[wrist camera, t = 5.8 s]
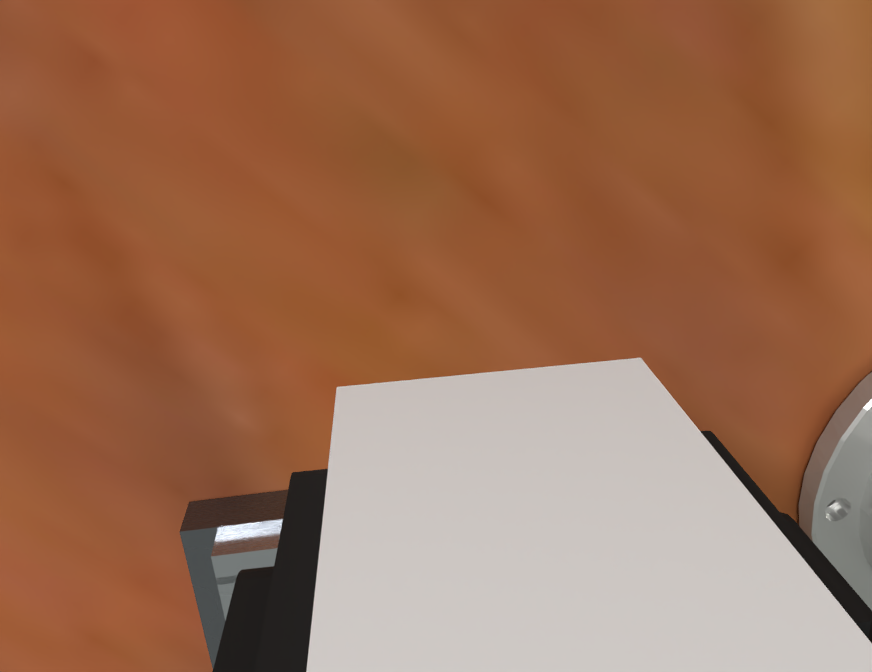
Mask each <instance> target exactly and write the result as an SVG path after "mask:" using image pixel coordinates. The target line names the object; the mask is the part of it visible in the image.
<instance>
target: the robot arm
mask: <svg viewBox="0 0 872 672" xmlns="http://www.w3.org/2000/svg"><path fill="white" fill-rule="evenodd" d="M700 432H701V433H702V434H703V436H704V437H705V438H706V439H707V440H708V442H709V443H710V444H711V445H712V447H713V448H714V449H715V450H716V452H717V453H718V454H719V455H720V457H721V458H722V459H723V460H724V461H725V463H726V464H727V465H728V466H729V468H730V469H731V470H732V471H733V473H734V474H735V475H736V476H737V478H738V479H739V480H740V481H741V482H742V484H743V485H744V486H745V487H746V489H747V490H748V491H749V492H750V494H751V495H752V496H753V497H754V499H755V500H756V501H757V502H758V503H759V505H760V506H761V507H762V508H763V510H764V511H765V512H766V513H767V515H768V516H769V517H770V518H771V520H772V521H773V522H774V523H775V524H776V526H777V527H778V528H779V529H780V531H781V532H782V533H783V534H784V536H785V537H786V538H787V539H788V541H789V542H790V543H791V544H792V545H793V547H794V548H795V549H796V550H797V552H798V553H799V554H800V555H801V557H802V558H803V559H804V560H805V562H806V563H807V564H808V565H809V566H810V568H811V569H812V570H813V571H814V573H815V574H816V575H817V576H818V578H819V579H820V580H821V581H822V583H823V584H824V585H825V586H826V587H827V589H828V590H829V591H830V592H831V594H832V595H833V596H834V597H835V599H836V600H837V601H838V602H839V604H840V605H841V606H842V607H843V608H844V610H845V611H846V612H847V613H848V615H849V616H850V617H851V618H852V620H853V621H854V622H855V623H856V624H857V626H858V627H859V628H860V629H861V631H862V632H863V633H864V634H865V636H866V637H867V638H868V639H869V641H870V642H871V643H872V372H871V373H870V374H868V375H867V376H866V377H865V378H864V379H863V380H862V381H861V382H860V383H859V384H858V385H857V386H856V388H855V389H854V390H853V391H852V392H851V394H850V395H849V396H848V397H847V398H846V400H845V401H844V402H843V403H842V404H841V405H840V407H839V408H838V409H837V410H836V412H835V413H834V415H833V417H832V418H831V420H830V421H829V423H828V425H827V426H826V428H825V430H824V431H823V433H822V435H821V436H820V438H819V440H818V441H817V443H816V446H815V448H814V451H813V453H812V456H811V458H810V461H809V463H808V466H807V469H806V471H805V474H804V479H803V484H802V489H801V495H800V500H799V525H798V524H797V523H796V522H795V521H794V520H793V519H792V518H791V517H790V516H789V515H788V514H784V513H781V512H779V511H778V510H777V509H776V507H775V506H774V505H773V504H772V503H771V501H770V500H769V499H768V498H767V497H766V495H765V494H764V493H763V492H762V491H761V490H760V488H759V487H758V486H757V485H756V484H755V482H754V481H753V480H752V479H751V478H750V476H749V475H748V474H747V473H746V472H745V471H744V469H743V468H742V467H741V466H740V465H739V463H738V462H737V461H736V460H735V459H734V457H733V456H732V455H731V454H730V453H729V452H728V450H727V449H726V448H725V447H724V446H723V444H722V443H721V442H720V441H719V440H718V438H717V437H716V436H715V435H714V434H713V433H712V432H711V431H700ZM327 474H328V469H322V470H313V471H303V472H293V473H292V475H291V479H290V484H289V489H288V495H287V500H286V505H285V511H284V516H283V521H282V527H281V532H280V537H279V543H278V548H277V553H276V559H275V564H274V566H271V567H262V568H252V569H243V570H241V571H240V572H239V573H238V575H237V578H236V581H235V585H234V589H233V593H232V597H231V601H230V605H229V609H228V613H227V617H226V621H225V625H224V629H223V632H222V636H221V640H220V644H219V648H218V652H217V656H216V660H215V664H214V668H213V672H306V670H307V661H308V652H309V642H310V633H311V624H312V614H313V605H314V596H315V586H316V577H317V567H318V558H319V549H320V539H321V530H322V521H323V511H324V502H325V493H326V483H327Z"/></svg>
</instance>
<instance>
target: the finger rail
mask: <svg viewBox="0 0 872 672" xmlns="http://www.w3.org/2000/svg"><path fill="white" fill-rule="evenodd" d="M287 495H288V490H283V491H275V492H267V493H258V494H250V495H242V496H234V497H226V498H217V499H209V500H201V501H193V502H189V504H188V507H187V510H186V514H185V517H184V520H183V523H182V526H181V529H180V535H181V539H182V543H183V548H184V552H185V556H186V560H187V564H188V568H189V572H190V577H191V581H192V585H193V589H194V593H195V597H196V601H197V605H198V610H199V614H200V618H201V622H202V626H203V630H204V634H205V639H206V643H207V647H208V651H209V655H210V659H211V663H212V667H213V668H214V664H215V660H216V656H217V652H218V648H219V644H220V640H221V636H222V632H223V629H224V625H225V621H226V617H227V613H228V609H229V605H230V601H231V597H232V593H233V589H234V585H235V581H236V578H237V575H238V573H239V572H240V571H241V570H243V569H252V568H262V567H271V566H274V564H275V559H276V553H277V548H278V543H279V537H280V532H281V527H282V521H283V516H284V511H285V505H286V500H287Z"/></svg>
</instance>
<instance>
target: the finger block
mask: <svg viewBox="0 0 872 672" xmlns="http://www.w3.org/2000/svg"><path fill="white" fill-rule="evenodd" d="M306 672H872V643H871V642H870V641H869V639H868V638H867V637H866V636H865V634H864V633H863V632H862V631H861V629H860V628H859V627H858V626H857V624H856V623H855V622H854V621H853V620H852V618H851V617H850V616H849V615H848V613H847V612H846V611H845V610H844V608H843V607H842V606H841V605H840V604H839V602H838V601H837V600H836V599H835V597H834V596H833V595H832V594H831V592H830V591H829V590H828V589H827V587H826V586H825V585H824V584H823V583H822V581H821V580H820V579H819V578H818V576H817V575H816V574H815V573H814V571H813V570H812V569H811V568H810V566H809V565H808V564H807V563H806V562H805V560H804V559H803V558H802V557H801V555H800V554H799V553H798V552H797V550H796V549H795V548H794V547H793V545H792V544H791V543H790V542H789V541H788V539H787V538H786V537H785V536H784V534H783V533H782V532H781V531H780V529H779V528H778V527H777V526H776V524H775V523H774V522H773V521H772V520H771V518H770V517H769V516H768V515H767V513H766V512H765V511H764V510H763V508H762V507H761V506H760V505H759V503H758V502H757V501H756V500H755V499H754V497H753V496H752V495H751V494H750V492H749V491H748V490H747V489H746V487H745V486H744V485H743V484H742V482H741V481H740V480H739V479H738V478H737V476H736V475H735V474H734V473H733V471H732V470H731V469H730V468H729V466H728V465H727V464H726V463H725V461H724V460H723V459H722V458H721V457H720V455H719V454H718V453H717V452H716V450H715V449H714V448H713V447H712V445H711V444H710V443H709V442H708V440H707V439H706V438H705V437H704V436H703V434H702V433H701V432H700V431H699V429H698V428H697V427H696V426H695V424H694V423H693V422H692V421H691V419H690V418H689V417H688V416H687V415H686V413H685V412H684V411H683V410H682V408H681V407H680V406H679V405H678V403H677V402H676V401H675V400H674V399H673V397H672V396H671V395H670V394H669V392H668V391H667V390H666V389H665V387H664V386H663V385H662V384H661V382H660V381H659V380H658V379H657V378H656V376H655V375H654V374H653V373H652V371H651V370H650V369H649V368H648V366H647V365H646V364H645V363H644V361H643V360H642V359H641V358H633V359H623V360H613V361H602V362H592V363H582V364H571V365H561V366H551V367H540V368H530V369H519V370H509V371H499V372H488V373H478V374H468V375H457V376H447V377H436V378H426V379H416V380H405V381H395V382H385V383H374V384H364V385H354V386H343V387H337V390H336V399H335V408H334V418H333V427H332V437H331V446H330V455H329V465H328V474H327V483H326V493H325V502H324V511H323V521H322V530H321V539H320V549H319V558H318V567H317V577H316V586H315V596H314V605H313V614H312V624H311V633H310V642H309V652H308V661H307V670H306Z"/></svg>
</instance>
